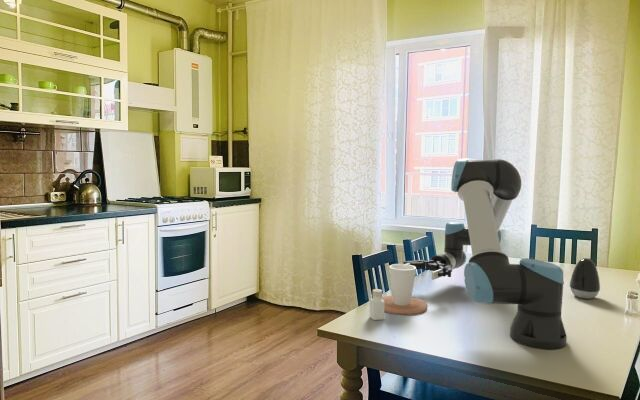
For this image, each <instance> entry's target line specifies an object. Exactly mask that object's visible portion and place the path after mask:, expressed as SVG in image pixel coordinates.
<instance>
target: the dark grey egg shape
mask: <svg viewBox="0 0 640 400" xmlns="http://www.w3.org/2000/svg"><path fill="white" fill-rule="evenodd" d="M569 287H570V291H571V293H572V294H573V295H574V296H575V297H577V298H579V299H586V300H590V299H594V298H596V297H597V296H598V294H599V292H600V291H601V283H600V277H599V272H598V269H597V266H596V264H595V262H593V260H592V258H581V259H580V260H579V261H578V262H577V263H576V265H575V266H574V269H573V272H572V274H571V277H570V282H569Z"/></svg>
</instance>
